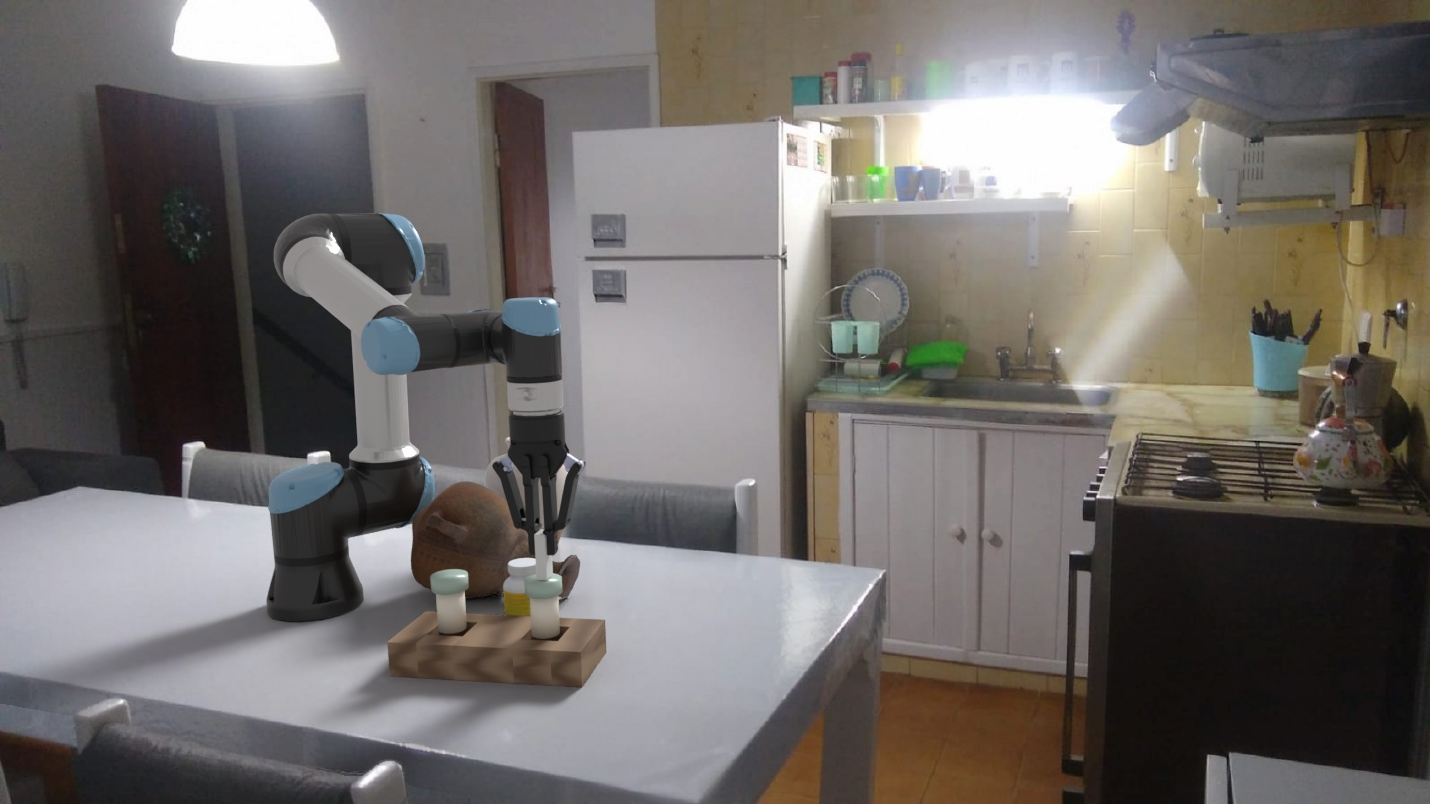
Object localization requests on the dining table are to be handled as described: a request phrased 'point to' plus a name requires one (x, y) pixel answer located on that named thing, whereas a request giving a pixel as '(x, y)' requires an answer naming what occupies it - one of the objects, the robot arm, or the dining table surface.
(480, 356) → the robot arm
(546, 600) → the knob
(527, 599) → the pill bottle
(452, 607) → the knob
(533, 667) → the mount
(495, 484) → the vase
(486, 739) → the dining table surface
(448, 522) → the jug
